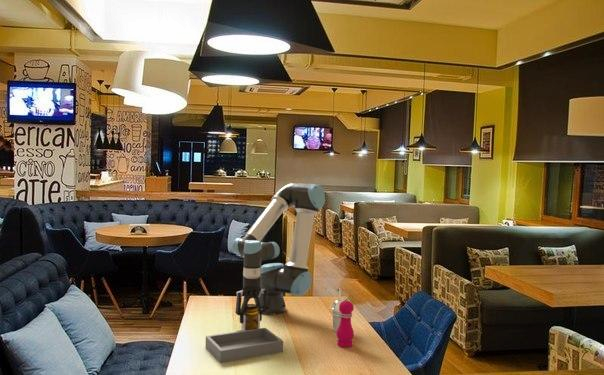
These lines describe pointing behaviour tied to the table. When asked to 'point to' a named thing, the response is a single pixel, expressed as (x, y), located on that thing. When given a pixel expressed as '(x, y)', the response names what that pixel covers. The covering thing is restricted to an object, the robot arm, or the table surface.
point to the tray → (243, 344)
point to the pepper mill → (345, 324)
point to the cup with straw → (336, 312)
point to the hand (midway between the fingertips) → (250, 329)
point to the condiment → (251, 317)
